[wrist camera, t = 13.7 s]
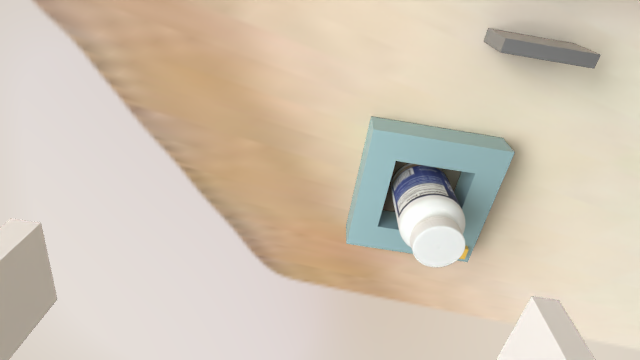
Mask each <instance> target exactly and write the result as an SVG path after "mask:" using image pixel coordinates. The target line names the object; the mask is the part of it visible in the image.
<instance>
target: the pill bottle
mask: <svg viewBox="0 0 640 360" xmlns="http://www.w3.org/2000/svg"><path fill="white" fill-rule="evenodd" d="M391 193H392V198H393V203H394V208H395V213H396V219H397V223H398V228H399V232H400V235H401V237H402V239H403V240H404V242H405V243H406V244H407V245H408V246H409V247H411V248H412V251H413V254H414V256H415V258H416V259H417V260H418V261H419V262H420V263H422V264H423V265H426V266H429V267H444V266H447V265H450V264H452V263H454V262H455V261H457V260H458V259H459V258H460V257H461V256H462V254H463V252H464V250H465V239H464V236H463V233H464V230H465V216H464V213H463V211H462V208H461V206H460V204H459V202H458V200H457V198H456V196H455V194H454V192H453V189H452V187H451V185H450V183H449V181H448V179H447V177H446V175H445V173H444V172H443V170H442V169H441V168H437V167H431V166H425V165H418V164H412V163H409V164H407V165H405V166H403V167H402V168H400V169H399V170H398V171H397V173H396V174H395V175H394V177H393V179H392V183H391Z"/></svg>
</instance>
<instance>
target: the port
mask: <svg viewBox="0 0 640 360" xmlns="http://www.w3.org/2000/svg"><path fill="white" fill-rule="evenodd" d="M514 153H515V152H514V151H513V150H512V149H511V147H510V146H509V145H508V144H507V143H506V141H505V140H504V139H503V138H500V137H494V136H487V135H481V134H475V133H469V132H463V131H457V130H451V129H445V128H439V127H433V126H427V125H420V124H414V123H408V122H402V121H396V120H390V119H384V118H378V117H372V116H371V119H370V124H369V128H368V132H367V137H366V141H365V146H364V150H363V154H362V159H361V163H360V167H359V172H358V176H357V180H356V185H355V189H354V193H353V198H352V202H351V206H350V211H349V215H348V220H347V224H346V243H347V244H352V245H359V246H366V247H372V248H379V249H385V250H392V251H399V252H405V253H412V254H413V251H412V248H411V247H409V246H408V245H407V244H406V243H405V242H404V240H403V239H402V237H401V235H400V232H399V228H398V223H397V219H396V213H395V212H391V211H384V210H382V209H383V206H384V202H385V198H386V195H387V191H388V188H389V184H390V180H391V177H392V173H393V170H394V166H395V162H396V161H400V162H406V163H412V164H418V165H425V166H431V167H437V168H443V169H449V170H456V171H461V174H460V177H459V180H458V182H457V185H456V188H455V190H454V194H455V196H456V198H457V200H458V202H459V204H460V206H461V208H462V211H463V213H464V216H465V230H464V233H463V236H464V239H465V250H464V252H463V254H462V256H461V257H460V258H459V259H458V261H464V262H468V260H469V258H470V255H471V253H472V251H473V248H474V246H475V244H476V241H477V239H478V237H479V234H480V232H481V230H482V227H483V225H484V223H485V220H486V218H487V216H488V213H489V211H490V209H491V207H492V204H493V202H494V200H495V197H496V195H497V193H498V190H499V188H500V186H501V183H502V181H503V179H504V176H505V174H506V172H507V169H508V167H509V165H510V162H511V160H512V158H513V155H514Z"/></svg>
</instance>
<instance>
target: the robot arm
mask: <svg viewBox="0 0 640 360" xmlns="http://www.w3.org/2000/svg"><path fill="white" fill-rule="evenodd" d="M56 300H57V295H56V290H55V286H54V281H53V277H52V272H51V267H50V263H49V258H48V253H47V249H46V244H45V240H44V235H43V230H42V225H41V223H39V222H32V221H26V220H19V219H12V218H11V219H9V220H8V221H7V222H6V223H5V224H3V225H2V226H1V227H0V360H9V359H10V358H11V357H12V355H13V354H14V353H15V351H16V350H17V349H18V348H19V346H20V345H21V344H22V343H23V341H24V340H25V339H26V338H27V336H28V335H29V334H30V333H31V332H32V330H33V329H34V328H35V327H36V325H37V324H38V323H39V322H40V320H41V319H42V318H43V317H44V315H45V314H46V313H47V312H48V310H49V309H50V308H51V307H52V305H53V304H54V303H55V302H56ZM496 360H596V359H595V358H594V356H593V355H592V353H591V351H590V350H589V348H588V347H587V345H586V343H585V342H584V340H583V338H582V337H581V335H580V334H579V332H578V330H577V329H576V327H575V325H574V324H573V322H572V321H571V319H570V317H569V316H568V314H567V312H566V311H565V309H564V308H563V306H562V304H561V303H560V301H559V300H554V299H548V298H541V297H534V296H531V298H530V300H529V302H528V304H527V305H526V307H525V309H524V311H523V313H522V314H521V316H520V318H519V320H518V322H517V323H516V325H515V327H514V329H513V331H512V332H511V334H510V336H509V338H508V339H507V341H506V343H505V345H504V347H503V348H502V350H501V352H500V354H499V356H498V357H497V359H496Z"/></svg>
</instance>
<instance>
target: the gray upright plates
mask: <svg viewBox="0 0 640 360" xmlns="http://www.w3.org/2000/svg"><path fill="white" fill-rule="evenodd" d="M484 42H486V43H487V44H489V45H490V46H492V47H493V48H495V49H496V50H498V51H499V52H501V53H507V54H512V55H518V56H524V57H530V58H536V59H541V60H547V61H553V62H559V63H565V64H571V65H576V66H582V67H588V68H595V66H596V64H597V62H598V60H599V57H600V54H598V53H596V52H593V51H591V50H588V49H586V48H584V47H581V46H579V45H576V44H574V43H569V42H563V41H557V40H552V39H546V38H540V37H535V36H529V35H523V34H517V33H512V32H506V31H500V30H494V29H489V28H488V30H487V33H486V36H485V39H484Z"/></svg>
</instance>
